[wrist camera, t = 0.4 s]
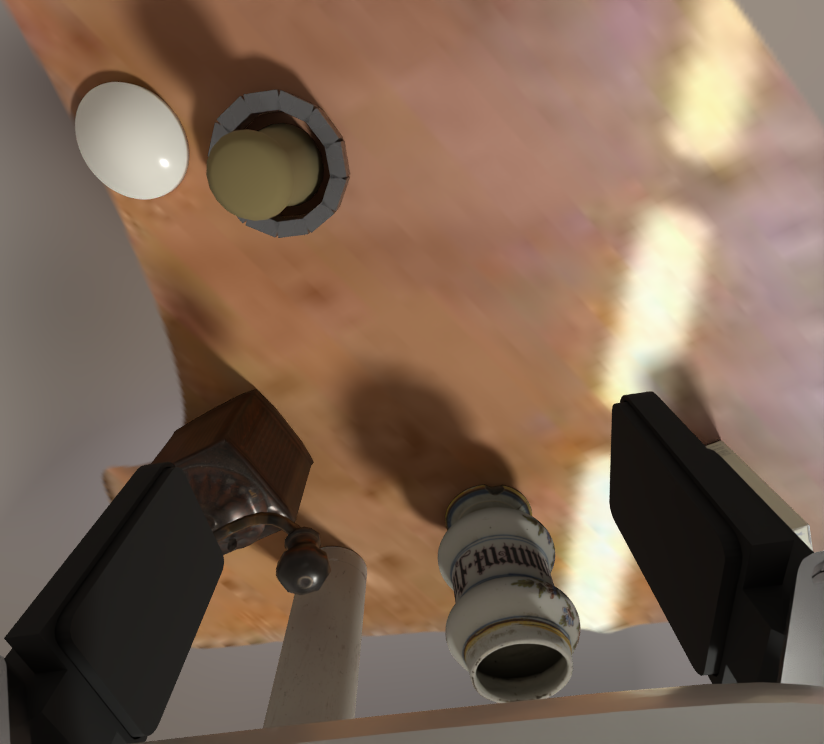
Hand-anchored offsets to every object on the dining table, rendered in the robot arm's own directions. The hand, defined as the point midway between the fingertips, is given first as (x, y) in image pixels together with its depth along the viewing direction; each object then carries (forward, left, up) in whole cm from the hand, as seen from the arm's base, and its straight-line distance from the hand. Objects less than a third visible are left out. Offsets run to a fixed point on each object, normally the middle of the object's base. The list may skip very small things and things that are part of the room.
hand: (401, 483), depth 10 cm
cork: (-5, -9, -33) cm, 35 cm away
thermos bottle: (+40, -14, -33) cm, 53 cm away
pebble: (-8, -20, -33) cm, 39 cm away
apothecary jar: (+34, +5, -33) cm, 47 cm away
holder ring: (-5, -9, -33) cm, 34 cm away
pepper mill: (+20, -17, -33) cm, 42 cm away
